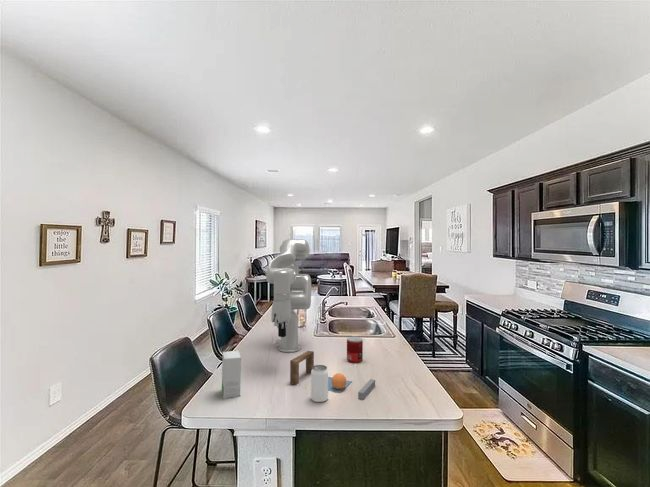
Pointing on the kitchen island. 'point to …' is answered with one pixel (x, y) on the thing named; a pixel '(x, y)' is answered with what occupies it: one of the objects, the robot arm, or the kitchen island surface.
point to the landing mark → (332, 388)
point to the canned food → (354, 349)
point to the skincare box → (231, 374)
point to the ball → (339, 381)
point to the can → (319, 383)
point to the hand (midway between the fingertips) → (282, 336)
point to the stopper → (366, 389)
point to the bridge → (295, 366)
